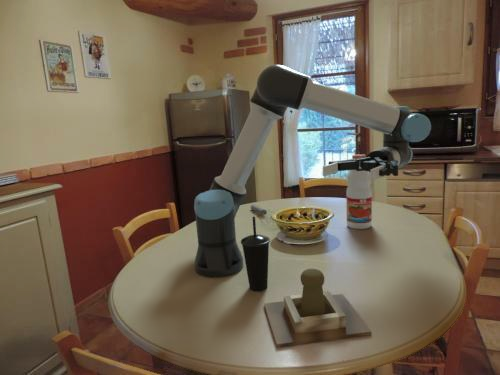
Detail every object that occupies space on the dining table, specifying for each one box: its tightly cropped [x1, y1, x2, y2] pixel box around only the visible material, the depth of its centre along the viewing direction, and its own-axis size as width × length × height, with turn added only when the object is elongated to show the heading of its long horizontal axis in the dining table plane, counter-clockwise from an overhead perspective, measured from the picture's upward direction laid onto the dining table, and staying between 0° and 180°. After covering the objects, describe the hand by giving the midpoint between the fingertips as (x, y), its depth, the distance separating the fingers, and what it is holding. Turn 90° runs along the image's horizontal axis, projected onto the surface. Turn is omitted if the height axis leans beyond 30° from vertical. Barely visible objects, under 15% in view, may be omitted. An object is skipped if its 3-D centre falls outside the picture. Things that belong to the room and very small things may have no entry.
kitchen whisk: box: [250, 203, 279, 226], centre depth 161 cm, size 6×34×6 cm, turn 19°
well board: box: [263, 290, 372, 349], centre depth 82 cm, size 20×16×4 cm
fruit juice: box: [345, 153, 373, 230], centre depth 139 cm, size 9×9×28 cm
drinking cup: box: [240, 216, 270, 293], centre depth 96 cm, size 8×8×20 cm
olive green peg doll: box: [300, 268, 327, 318], centre depth 81 cm, size 6×6×11 cm
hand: (346, 173), depth 93 cm, fingers open, 13 cm apart
